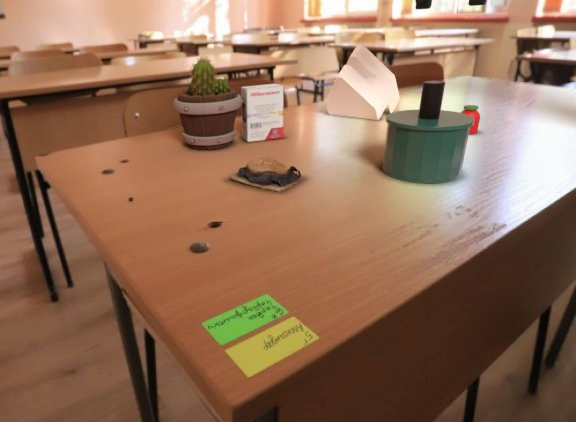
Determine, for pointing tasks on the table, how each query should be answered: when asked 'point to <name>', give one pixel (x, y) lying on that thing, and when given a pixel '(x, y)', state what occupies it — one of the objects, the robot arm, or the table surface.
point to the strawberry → (474, 113)
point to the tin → (424, 154)
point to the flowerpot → (207, 108)
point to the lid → (430, 113)
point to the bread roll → (268, 174)
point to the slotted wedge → (363, 87)
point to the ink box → (262, 112)
